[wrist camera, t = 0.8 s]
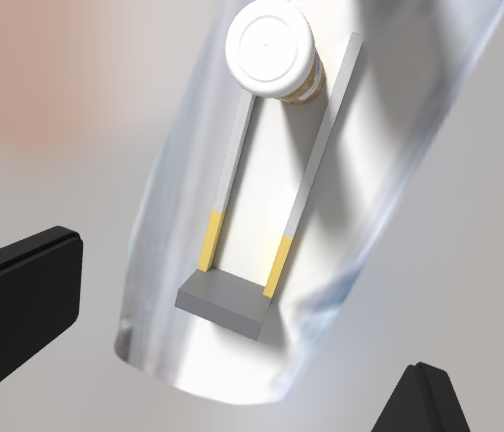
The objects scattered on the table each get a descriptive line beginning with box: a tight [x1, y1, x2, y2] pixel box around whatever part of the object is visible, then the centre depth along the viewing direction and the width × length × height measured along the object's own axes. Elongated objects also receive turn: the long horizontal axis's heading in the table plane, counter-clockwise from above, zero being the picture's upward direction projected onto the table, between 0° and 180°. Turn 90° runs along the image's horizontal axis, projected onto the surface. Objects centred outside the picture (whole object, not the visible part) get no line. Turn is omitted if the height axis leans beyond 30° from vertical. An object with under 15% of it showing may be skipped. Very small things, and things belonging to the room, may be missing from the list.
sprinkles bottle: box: [226, 0, 325, 104], centre depth 23 cm, size 5×5×13 cm
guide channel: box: [175, 32, 365, 340], centre depth 29 cm, size 27×8×6 cm, turn 163°
